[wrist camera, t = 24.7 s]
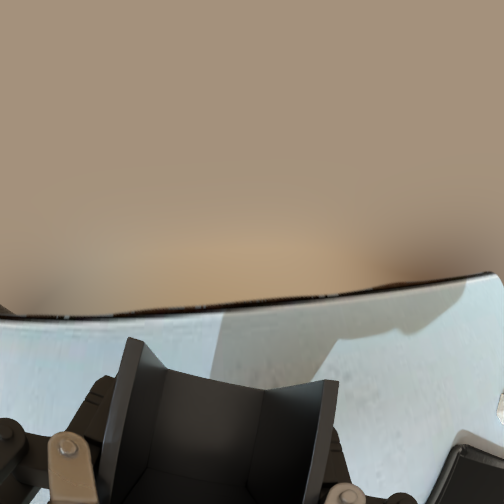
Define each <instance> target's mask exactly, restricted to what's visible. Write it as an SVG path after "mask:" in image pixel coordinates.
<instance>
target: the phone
mask: <svg viewBox="0 0 504 504" xmlns="http://www.w3.org/2000/svg"><path fill="white" fill-rule="evenodd" d="M426 504H504V459H502V458H499V457H497V456H494V455H492V454H489V453H487V452H484V451H482V450H479V449H477V448H474V447H472V446H470V445H466V444H463V445H455V446H454V447H453V448H452V449H451V451H450V453H449V455H448V458H447V460H446V463H445V465H444V467H443V469H442V472H441V474H440V476H439V478H438V480H437V483H436V485H435V487H434V489H433V491H432V493H431V495H430V497H429V499H428V500H427V502H426Z"/></svg>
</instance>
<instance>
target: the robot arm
mask: <svg viewBox="0 0 504 504" xmlns="http://www.w3.org/2000/svg"><path fill="white" fill-rule="evenodd" d="M117 375H118V373H117ZM117 375H116V377H115V378H113V377H110V376H107V375H105V376H104V377H102V378H100V379H99V380H97V381H96V382H95V383H94V385H93V387H92V388H91V390H90V392H89V393H88V395H87V396H86V398H85V401H83V403H82V404H81V406H80V408H79V409H78V411H77V413H76V414H75V416H74V418H73V419H72V421H71V423H70V424H69V426H68V428H67V429H66V430H65V431H64V432H59V433H56V434H54V435H53V436H52V437H46V436H40V435H36V434H31V433H27V432H25V431H24V429H23V427H22V426H21V425H20V424H19V423H18V422H17V421H15V420H13V419H10V418H0V504H29V503H30V502H31V501H32V499H33V498H34V497H35V495H36V494H37V493H38V491H39V490H40V489H41V488H45V489H50V501H48V503H47V504H100V501H99V496H98V491H97V486H96V479H97V473H98V466H99V460H100V454H101V449H102V443H103V438H104V433H105V428H106V423H107V418H108V413H109V409H110V404H111V400H112V395H113V391H114V387H115V383H116V379H117ZM318 504H418V503H417V501H416V500H415V499H414V498H413V497H412V496H411V495H409V494H407V493H401V492H400V493H395V494H393V495H391V496H390V497H389V498H388V499H383V498H376V497H370V496H366V495H365V494H364V492H363V491H362V490H361V489H360V488H359V487H358V486H356V485H354V484H352V482H351V479H350V476H349V472H348V468H347V465H346V461H345V458H344V454H343V452H342V447H341V444H340V440H339V437H338V433H337V431H336V429H335V428H334V427H333V430H332V436H331V442H330V448H329V453H328V459H327V464H326V469H325V474H324V479H323V484H322V488H321V493H320V497H319V501H318Z"/></svg>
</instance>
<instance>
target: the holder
mask: <svg viewBox="0 0 504 504" xmlns="http://www.w3.org/2000/svg"><path fill="white" fill-rule="evenodd" d="M338 387H339V381H334V380H326V379H325V380H320V381H315V382H310V383H305V384H300V385H294V386H289V387H283V388H276V389H270V390H262V389H256V388H250V387H245V386H240V385H234V384H229V383H225V382H220V381H215V380H211V379H206V378H202V377H198V376H194V375H190V374H186V373H182V372H178V371H174V370H171V369H167V368H166V367H165V366H164V365H163V363H162V362H161V361H160V360H159V359H158V358H157V357H156V355H155V354H154V353H153V352H152V351H151V350H150V348H149V347H148V346H147V345H146V344H145V342H144V341H141V340H138V339H134V338H131V337H128V338H127V342H126V345H125V349H124V352H123V356H122V360H121V363H120V367H119V371H118V375H117V379H116V383H115V387H114V391H113V395H112V400H111V404H110V409H109V413H108V418H107V423H106V428H105V433H104V438H103V443H102V449H101V454H100V460H99V466H98V473H97V479H96V486H97V491H98V496H99V501H100V504H318V501H319V497H320V493H321V488H322V484H323V479H324V474H325V469H326V464H327V459H328V453H329V448H330V442H331V436H332V430H333V424H334V417H335V410H336V403H337V395H338Z"/></svg>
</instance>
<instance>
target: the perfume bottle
mask: <svg viewBox="0 0 504 504" xmlns="http://www.w3.org/2000/svg"><path fill="white" fill-rule="evenodd" d="M497 416H498V418H499V420H500V421H501V423H502V425H504V394H501V397H500V401H499V405H498V409H497Z"/></svg>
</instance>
